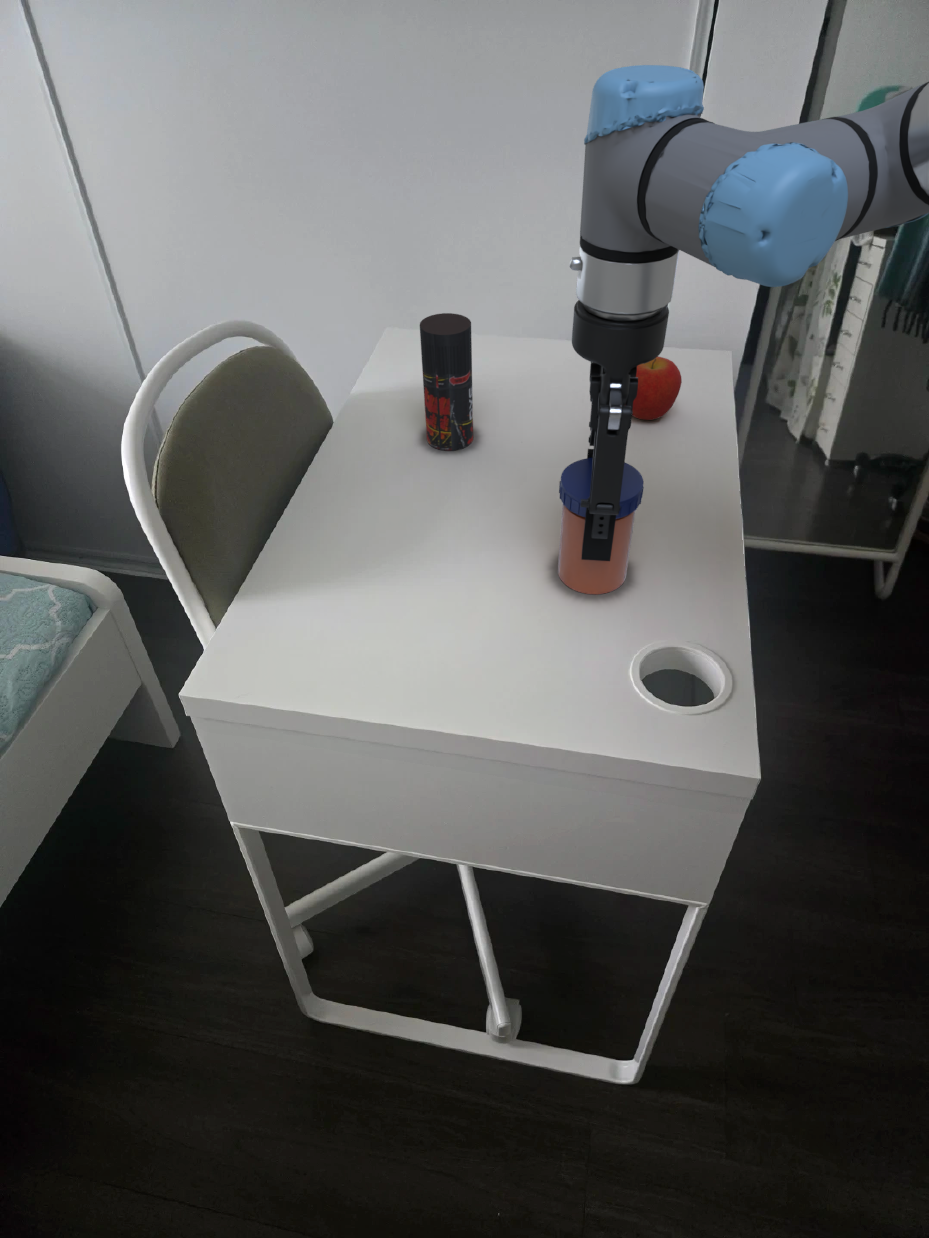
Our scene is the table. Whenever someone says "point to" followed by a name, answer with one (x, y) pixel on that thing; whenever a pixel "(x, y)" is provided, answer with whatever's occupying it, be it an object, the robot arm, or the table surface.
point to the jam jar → (592, 572)
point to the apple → (656, 388)
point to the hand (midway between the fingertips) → (595, 530)
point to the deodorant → (447, 380)
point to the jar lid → (579, 482)
